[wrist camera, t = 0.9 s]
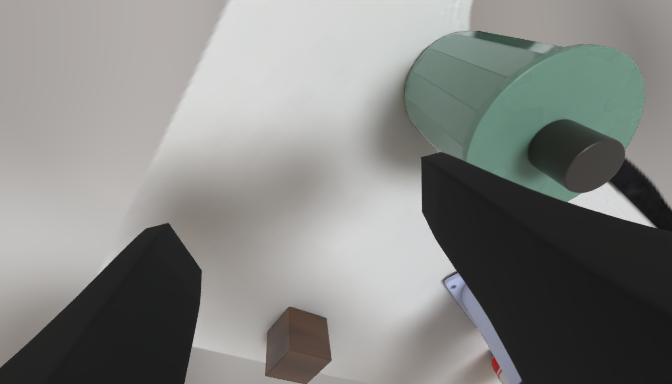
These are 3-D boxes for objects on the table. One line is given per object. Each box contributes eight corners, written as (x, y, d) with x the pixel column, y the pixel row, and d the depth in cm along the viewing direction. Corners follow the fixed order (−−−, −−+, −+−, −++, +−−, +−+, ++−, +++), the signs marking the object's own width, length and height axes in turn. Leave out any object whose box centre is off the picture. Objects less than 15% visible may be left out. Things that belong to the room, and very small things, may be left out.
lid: (651, 108, 12) (736, 134, 10) (519, 225, 15) (561, 267, 13) (563, -4, 10) (650, -3, 7) (420, 162, 12) (452, 201, 10)
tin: (525, 71, 18) (655, 113, 12) (451, 154, 21) (526, 226, 14) (457, 3, 16) (574, 10, 10) (382, 106, 18) (435, 167, 12)
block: (303, 341, 30) (306, 384, 27) (267, 331, 29) (264, 376, 25) (326, 318, 29) (332, 360, 25) (289, 306, 27) (289, 350, 24)
